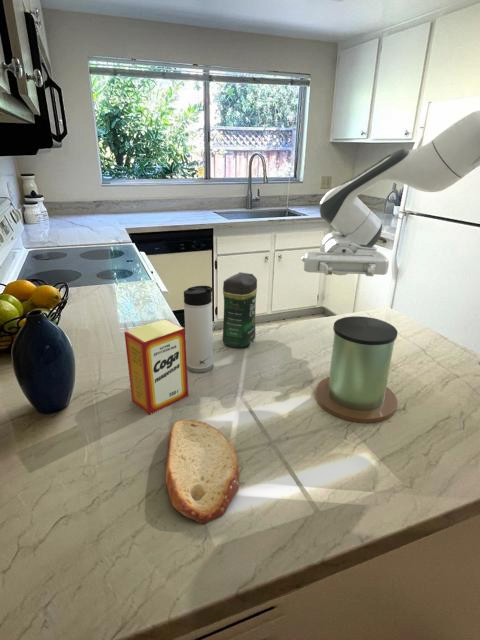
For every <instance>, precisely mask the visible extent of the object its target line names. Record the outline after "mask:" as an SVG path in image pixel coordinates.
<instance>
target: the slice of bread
mask: <svg viewBox="0 0 480 640" xmlns="http://www.w3.org/2000/svg"><path fill="white" fill-rule="evenodd" d="M167 450H168V451H167V457H166V463H165V464H166V465H165V486H166V489H167V491H168V497H169V499H170V503H171V504H172V506H173V507H174V509H175V510H177V511H178V512H179V514H181V515H183V516H184V517H186V518H188V519H191V520H192V521H193V520H194V521H195V522H197V523H198V524H207V523H209V522H211V521H214V520H216V519H219V518H220V517H222V516H224V514H225V513H226V512H227V509H228V507H229V506H230V504H231V503H232V501H233V499H234V497H235V496H236V495H237V493H238V492H239V488H240V468H239V464H238V463H239V461H238V455H237V452H236V449H235V448H234V445H233V444H232V443H231V442H229V441H228V440H227V439H226V438H225V437H224V435H223V433H222V432H221V431H220V430H218V429H217V428H216V427H214V426H212V425H210V424H208V423H207V422H204V421H201V420H196V419H180V420H178V421H176V422H175V423H174V424H173V426H172V428H171V431H170V434H169V439H168V445H167Z"/></svg>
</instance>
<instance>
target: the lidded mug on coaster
mask: <svg viewBox="0 0 480 640" xmlns="http://www.w3.org/2000/svg"><path fill="white" fill-rule="evenodd" d="M332 327H333V328H332V329H333V332H334V333H333V340H332V341H333V342H332V351H331V359H330V360H331V361H330V369H329V376H328V377H325V378H323V379H321V380H320V381H319V382H318V383H317V385H316V386H315V391H314V392H315V393H314V394H315V396H314V397H315V400H316V401H317V403H318V405H319V406H320V407H321V409H323V410H324V411H326V412H327V413H329V414H331V415H332V416H334V417H336V418H339V419H342V420H345V421H348V422H353V423H362V424H372V423H373V424H374V423H380V422H383V421H386V420H388V419H389V418H391V417H393V415H394V414H395V413H396V411H397V408H398V399H397V396H396V394H395V393H394V392H393V390H392V389H390V388H389V387H388V386H387V385H388V379H389V374H390V369H391V362H392V357H393V351H394V346H395V341H396V340H397V338H398V330H397V328H396V327H395V326H394V325H392V324H391V323H389V322H387V321H384V320H382V319H379V318H375V317H369V316H361V315H360V316H359V315H358V316H357V315H356V316H355V315H354V316H345V317H340V318H339V319H337V320H335V321H334V323H333V326H332Z"/></svg>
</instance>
